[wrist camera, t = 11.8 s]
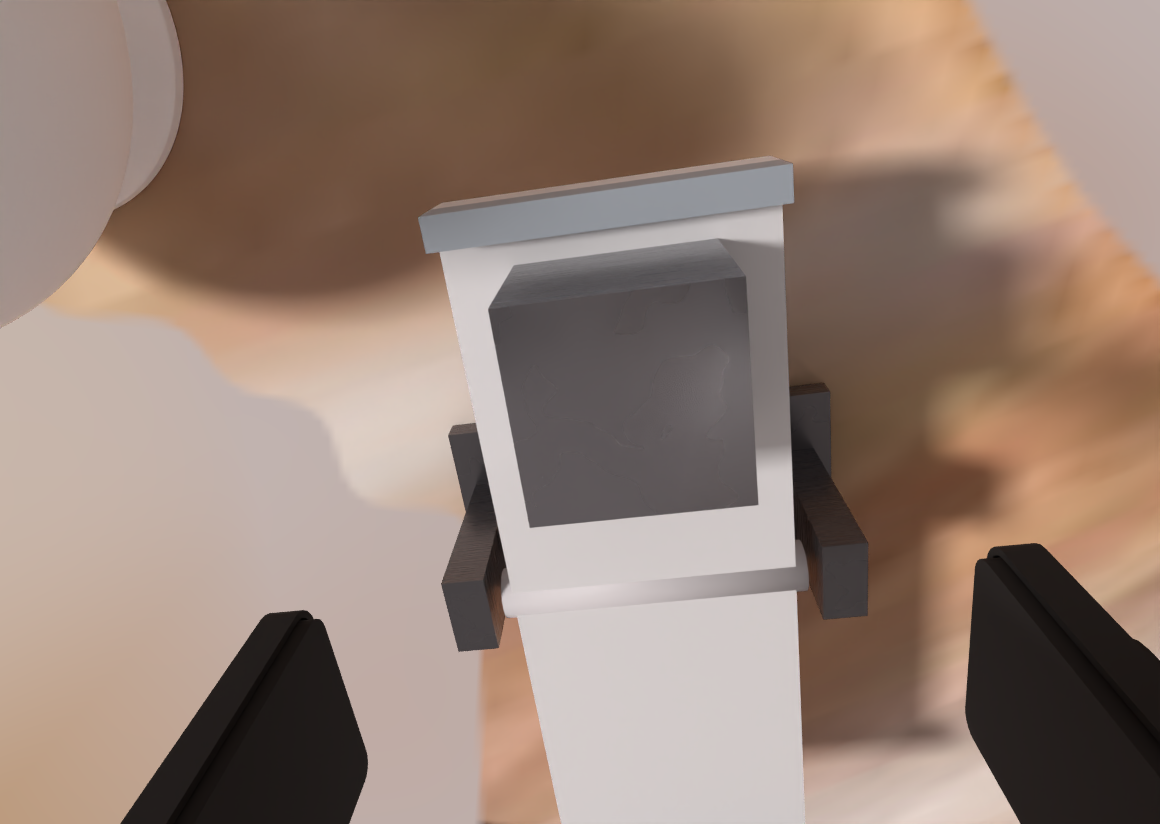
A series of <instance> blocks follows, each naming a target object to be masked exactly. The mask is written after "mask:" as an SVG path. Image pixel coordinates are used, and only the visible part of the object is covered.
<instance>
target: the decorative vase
mask: <svg viewBox="0 0 1160 824" xmlns="http://www.w3.org/2000/svg"><path fill="white" fill-rule="evenodd" d="M182 105H183V66H182V58H181V51H180V46H179V41H178V37H177V33H176V29H175V25H174V22H173V19H172V16H171V13H170V10H169V7H168V4H167V2H166V0H0V328H1V327H3V326H5V325H7V324H9V323H11V322H13V321H14V320H16V319H18V318H19V317H21V316H23V315H24V314H26V313H28V312H29V311H31V310H32V309H34V308H35V307H36V306H38V305H39V304H40V303H42V302H43V301H44V300H46V299H47V298H48V297H49V296H51V295H52V294H53V293H54V292H55V291H56V290H57V289H58V288H60V287H61V286H62V285H63V284H64V283H65V282H66V281H67V280H68V279H69V278H70V277H71V276H72V274H73V273H74V272H75V271H76V270H77V269H78V267H79V266H80V265H81V264H82V263H83V261H84V260H85V259H86V257H87V256H88V255H89V253H90V252H91V250H92V249H93V247H94V246H95V244H96V243H97V241H98V239H99V238H100V236H101V234H102V232H103V231H104V229H105V227H106V225H107V223H108V221H109V219H110V216H111V214H112V212H113V210H114V209H116V208H118V207H120V206H122V205H124V204H125V203H127V202H128V201H130V200H131V199H133V198H134V197H135V196H137V195H138V194H139V193H140V192H141V191H142V190H143V189H145V188H146V187H147V186H148V184H149V183H150V182H151V181H152V180H153V179H154V177H155V176H156V175H157V174H158V172H159V171H160V169H161V168H162V166H163V164H164V163H165V161H166V159H167V157H168V155H169V153H170V151H171V149H172V146H173V144H174V141H175V138H176V135H177V131H178V128H179V123H180V118H181V113H182Z"/></svg>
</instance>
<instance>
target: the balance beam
mask: <svg viewBox="0 0 1160 824" xmlns="http://www.w3.org/2000/svg"><path fill="white" fill-rule="evenodd" d="M791 203H794V184H793V163H790V162H787V161H784V160H781V159H778V158H776V157H773V156H763V157H757V158H750V159H743V160H736V161H729V162H722V163H715V164H708V165H701V166H694V167H687V168H680V169H673V170H666V171H659V172H653V173H646V174H639V175H632V176H625V177H618V178H611V179H604V180H597V181H590V182H583V183H576V184H569V185H562V186H555V187H548V188H542V189H535V190H528V191H521V192H514V193H507V194H500V195H493V196H486V197H479V198H472V199H465V200H458V201H451V202H444V203H440V204H439V205H437V206H435V207H434V208H432V209H431V210H429V211H427V212H426V213H424V214H422V215H421V216H419V217H418V220H419V224H420V229H421V233H422V238H423V242H424V247H425V251H426V254H429V253H436V252H440V257H441V262H442V266H443V271H444V276H445V280H446V285H447V290H448V295H449V299H450V304H451V309H452V313H453V318H454V323H455V327H456V332H457V337H458V341H459V346H460V351H461V356H462V360H463V365H464V370H465V374H466V379H467V384H468V388H469V393H470V398H471V402H472V407H473V412H474V417H475V421H476V426H477V431H478V435H479V440H480V445H481V449H482V454H483V459H484V463H485V468H486V473H487V478H488V482H489V487H490V492H491V496H492V501H493V506H494V510H495V515H496V520H497V524H498V529H499V534H500V539H501V543H502V548H503V553H504V557H505V562H506V567H507V568H504V569H503V571H502V576H501V597H502V605H503V610H504V613H505V616H506V617H507V618H514V617H517V618H518V623H519V628H520V632H521V637H522V642H523V646H524V651H525V656H526V660H527V665H528V670H529V675H530V679H531V684H532V689H533V693H534V698H535V703H536V707H537V712H538V717H539V721H540V726H541V731H542V736H543V740H544V745H545V750H546V754H547V759H548V764H549V768H550V773H551V778H552V782H553V787H554V792H555V797H556V801H557V806H558V811H559V815H560V820H561V824H805V805H804V778H803V751H802V724H801V697H800V669H799V642H798V615H797V592H799V591H807V590H808V588H809V574H808V566H807V560H806V555H805V551H804V548H803V545H802V542H801V541H800V540H795V534H794V506H793V479H792V452H791V425H790V398H789V371H788V344H787V316H786V289H785V262H784V235H783V208H782V205H784V204H791ZM716 238H717V239H718V240H719V241H720V243H721V244H722V245H723V246H724V248H725V249H726V250H727V252H728V253H729V254H730V256H731V257H732V258H733V260H734V261H735V262H736V264H737V265H738V266H739V267H740V269H741V270H742V271H743V273H744V274H745V275H746V284H747V302H748V321H749V339H750V358H751V376H752V395H753V413H754V431H755V450H756V468H757V487H758V505H755V506H745V507H735V508H725V509H715V510H705V511H695V512H685V513H675V514H665V515H655V516H645V517H635V518H625V519H615V520H605V521H595V522H585V523H575V524H565V525H555V526H545V527H535V528H530V527H529V522H528V517H527V511H526V506H525V501H524V496H523V490H522V485H521V480H520V475H519V470H518V464H517V459H516V454H515V449H514V443H513V438H512V433H511V428H510V422H509V417H508V412H507V407H506V402H505V396H504V391H503V386H502V381H501V375H500V370H499V365H498V360H497V355H496V349H495V344H494V339H493V334H492V328H491V323H490V318H489V313H488V308H489V306H490V304H491V303H492V301H493V299H494V298H495V296H496V294H497V293H498V291H499V289H500V288H501V286H502V284H503V282H504V281H505V279H506V277H507V276H508V274H509V272H510V271H511V269H512V267H513V266H514V265H519V264H527V263H535V262H542V261H550V260H557V259H565V258H572V257H580V256H587V255H595V254H603V253H610V252H618V251H625V250H633V249H640V248H648V247H655V246H663V245H671V244H678V243H686V242H693V241H701V240H708V239H716Z"/></svg>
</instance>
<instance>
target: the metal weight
mask: <svg viewBox="0 0 1160 824" xmlns="http://www.w3.org/2000/svg"><path fill="white" fill-rule="evenodd" d="M488 313H489V318H490V323H491V328H492V334H493V339H494V344H495V349H496V355H497V360H498V365H499V370H500V375H501V381H502V386H503V391H504V396H505V402H506V407H507V412H508V417H509V422H510V428H511V433H512V438H513V443H514V449H515V454H516V459H517V464H518V470H519V475H520V480H521V485H522V490H523V496H524V501H525V506H526V511H527V517H528V522H529V527H530V528H535V527H545V526H555V525H565V524H575V523H585V522H595V521H605V520H615V519H625V518H635V517H645V516H655V515H665V514H675V513H685V512H695V511H705V510H715V509H725V508H735V507H745V506H755V505H758V487H757V468H756V450H755V431H754V413H753V395H752V376H751V358H750V339H749V321H748V302H747V284H746V275H745V274H744V273H743V271H742V270H741V269H740V267H739V266H738V265H737V264H736V262H735V261H734V260H733V258H732V257H731V256H730V254H729V253H728V252H727V250H726V249H725V248H724V246H723V245H722V244H721V243H720V241H719V240H718V239H717V238H716V239H708V240H701V241H693V242H686V243H678V244H671V245H663V246H655V247H648V248H640V249H633V250H625V251H618V252H610V253H603V254H595V255H587V256H580V257H572V258H565V259H557V260H550V261H542V262H535V263H527V264H519V265H514V266H513V267H512V269H511V271H510V272H509V274H508V276H507V277H506V279H505V281H504V282H503V284H502V286H501V288H500V289H499V291H498V293H497V294H496V296H495V298H494V299H493V301H492V303H491V304H490V306H489V308H488Z"/></svg>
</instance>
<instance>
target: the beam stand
mask: <svg viewBox="0 0 1160 824" xmlns="http://www.w3.org/2000/svg"><path fill="white" fill-rule="evenodd" d="M789 398H790V425H791V452H792V479H793V506H794V534H795V540H800V541H801V542H802V545H803V548H804V551H805V555H806V560H807V566H808V574H809V585H810V587H811V590H812V592H813V595H814V597H815V600H816V602H817V605H818V607H819V609H820V612H821V614H822V617H823V619H836V618H847V617H858V616H868V542H867V540H866V538H865V536H864V535H863V533H862V531H861V529H860V528H859V526H858V524H857V522H856V521H855V519H854V517H853V516H852V514H851V512H850V510H849V509H848V507H847V505H846V503H845V502H844V500H843V498H842V496H841V495H840V493H839V491H838V489H837V488H836V486H835V484H834V482H833V481H832V479H831V424H830V391H829V389H828V388H827V387H826V385H825V384H824V383H818V384H809V385H800V386H792V387H789ZM448 437H449V441H450V445H451V450H452V454H453V458H454V462H455V467H456V471H457V475H458V480H459V484H460V488H461V493H462V497H463V501H464V506H465V510H466V514H465V517H464V520H463V523H462V526H461V528H460V532H459V534H458V537H457V540H456V543H455V546H454V549H453V551H452V555H451V557H450V560H449V563H448V566H447V569H446V572H445V574H444V577H443V580H442V583H441V585H442V589H443V593H444V597H445V601H446V605H447V609H448V612H449V616H450V620H451V624H452V628H453V632H454V635H455V640H456V643H457V647H458V651H459V652H460V651H471V650H483V649H494V648H499V645H500V640H501V635H502V630H503V625H504V620H505V613H504V610H503V605H502V597H501V576H502V571H503V569H504V568H507V567H506V562H505V557H504V553H503V548H502V543H501V539H500V534H499V529H498V524H497V520H496V515H495V510H494V506H493V501H492V496H491V492H490V487H489V482H488V478H487V473H486V468H485V463H484V459H483V454H482V449H481V445H480V440H479V435H478V431H477V426H476V423H473V424H465V425H456V426H453V427H452V429H451V431H450V433H449V435H448Z"/></svg>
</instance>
